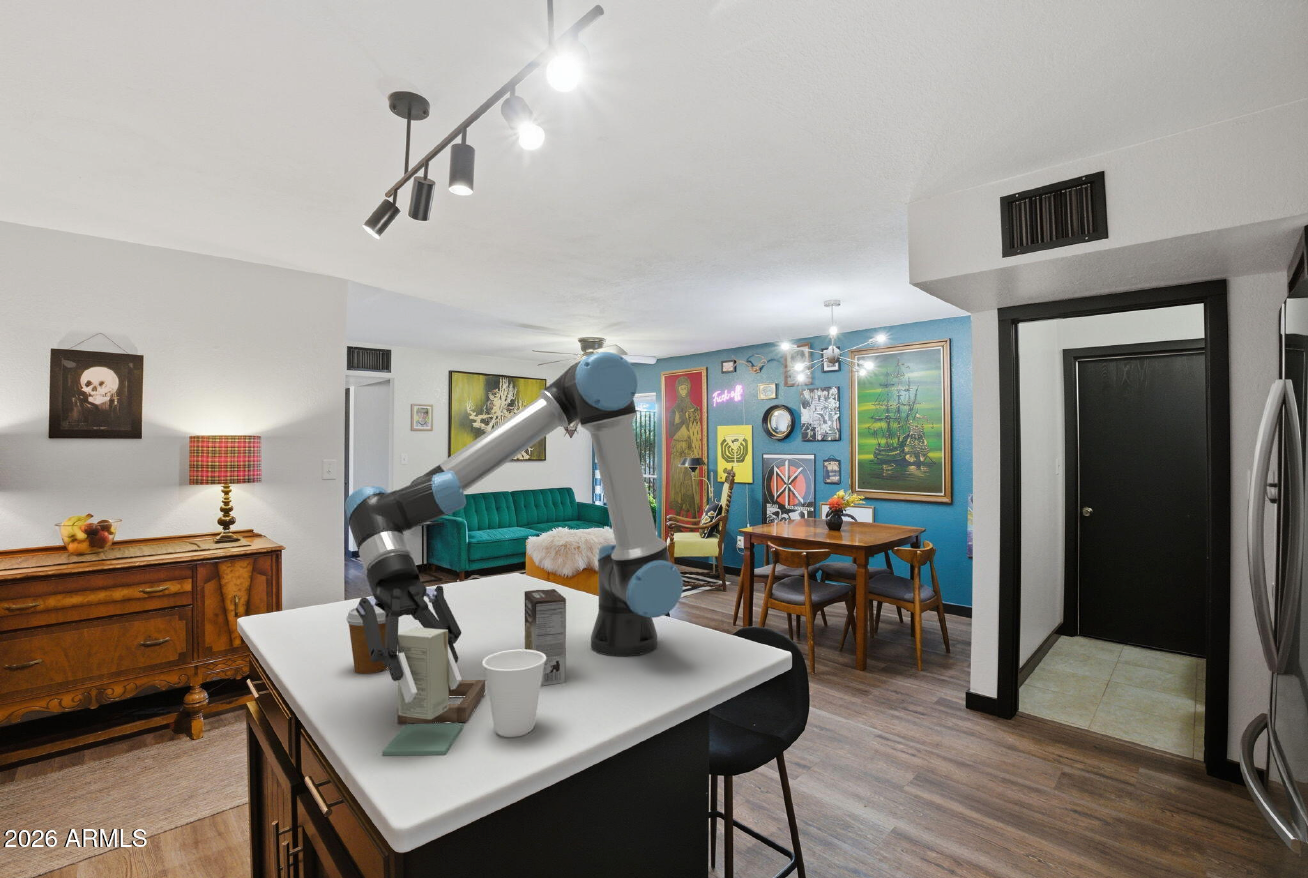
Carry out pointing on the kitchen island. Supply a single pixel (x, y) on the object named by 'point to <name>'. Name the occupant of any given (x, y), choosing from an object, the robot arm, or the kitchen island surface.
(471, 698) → the wooden square frame
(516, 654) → the cup
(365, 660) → the disposable coffee cup
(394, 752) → the rubber mat
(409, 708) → the skincare box
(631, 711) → the kitchen island surface
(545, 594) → the coffee box
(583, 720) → the kitchen island surface
